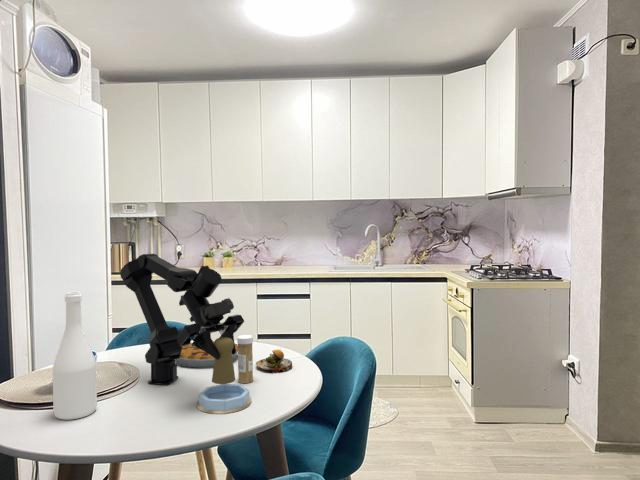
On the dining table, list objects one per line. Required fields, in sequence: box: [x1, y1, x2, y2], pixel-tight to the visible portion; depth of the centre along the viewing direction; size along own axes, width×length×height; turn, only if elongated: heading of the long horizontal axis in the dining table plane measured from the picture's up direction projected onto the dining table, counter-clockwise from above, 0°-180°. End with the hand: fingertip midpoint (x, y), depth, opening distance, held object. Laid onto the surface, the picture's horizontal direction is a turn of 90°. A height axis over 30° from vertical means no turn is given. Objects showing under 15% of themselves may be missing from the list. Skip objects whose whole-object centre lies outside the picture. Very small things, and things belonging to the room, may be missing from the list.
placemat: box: [196, 395, 252, 415], centre depth 122 cm, size 14×14×1 cm
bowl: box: [198, 383, 250, 411], centre depth 122 cm, size 12×12×2 cm
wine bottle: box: [52, 291, 98, 421], centre depth 115 cm, size 10×10×30 cm
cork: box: [211, 337, 236, 385], centre depth 121 cm, size 6×6×11 cm
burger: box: [255, 348, 293, 374], centre depth 151 cm, size 12×12×8 cm
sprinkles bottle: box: [236, 334, 254, 384], centre depth 138 cm, size 5×5×14 cm
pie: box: [177, 339, 238, 369], centre depth 160 cm, size 22×22×5 cm
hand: (227, 356), depth 120 cm, fingers closed on cork, 5 cm apart
